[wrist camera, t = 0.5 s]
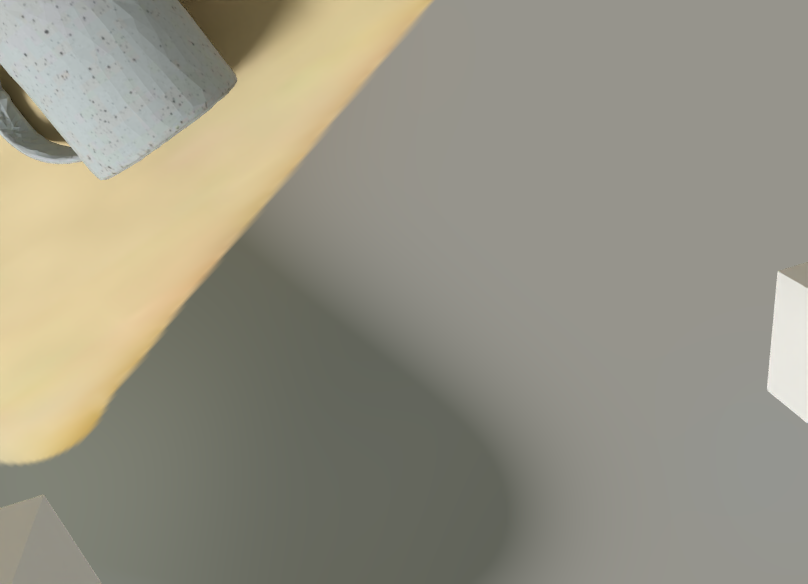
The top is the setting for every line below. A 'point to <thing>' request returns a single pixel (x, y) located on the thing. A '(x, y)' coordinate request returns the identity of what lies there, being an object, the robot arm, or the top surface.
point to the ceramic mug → (106, 77)
